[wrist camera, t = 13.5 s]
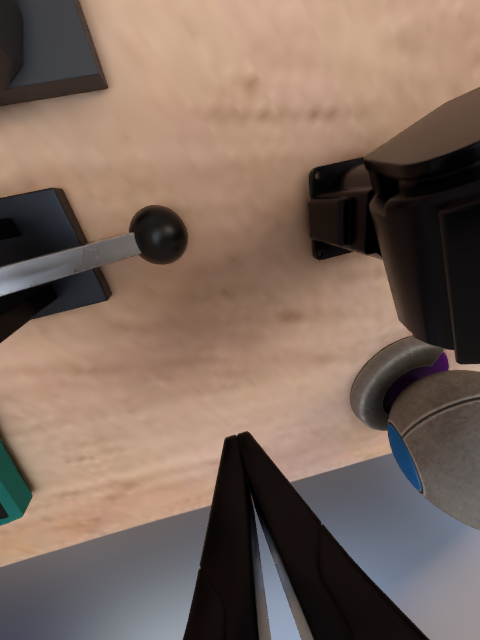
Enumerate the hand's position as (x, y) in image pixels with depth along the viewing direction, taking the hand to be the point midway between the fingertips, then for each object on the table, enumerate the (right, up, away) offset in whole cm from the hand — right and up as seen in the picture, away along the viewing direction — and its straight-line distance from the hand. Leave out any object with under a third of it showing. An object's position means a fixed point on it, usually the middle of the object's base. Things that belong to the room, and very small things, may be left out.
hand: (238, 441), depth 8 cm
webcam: (+19, -3, +21) cm, 29 cm away
